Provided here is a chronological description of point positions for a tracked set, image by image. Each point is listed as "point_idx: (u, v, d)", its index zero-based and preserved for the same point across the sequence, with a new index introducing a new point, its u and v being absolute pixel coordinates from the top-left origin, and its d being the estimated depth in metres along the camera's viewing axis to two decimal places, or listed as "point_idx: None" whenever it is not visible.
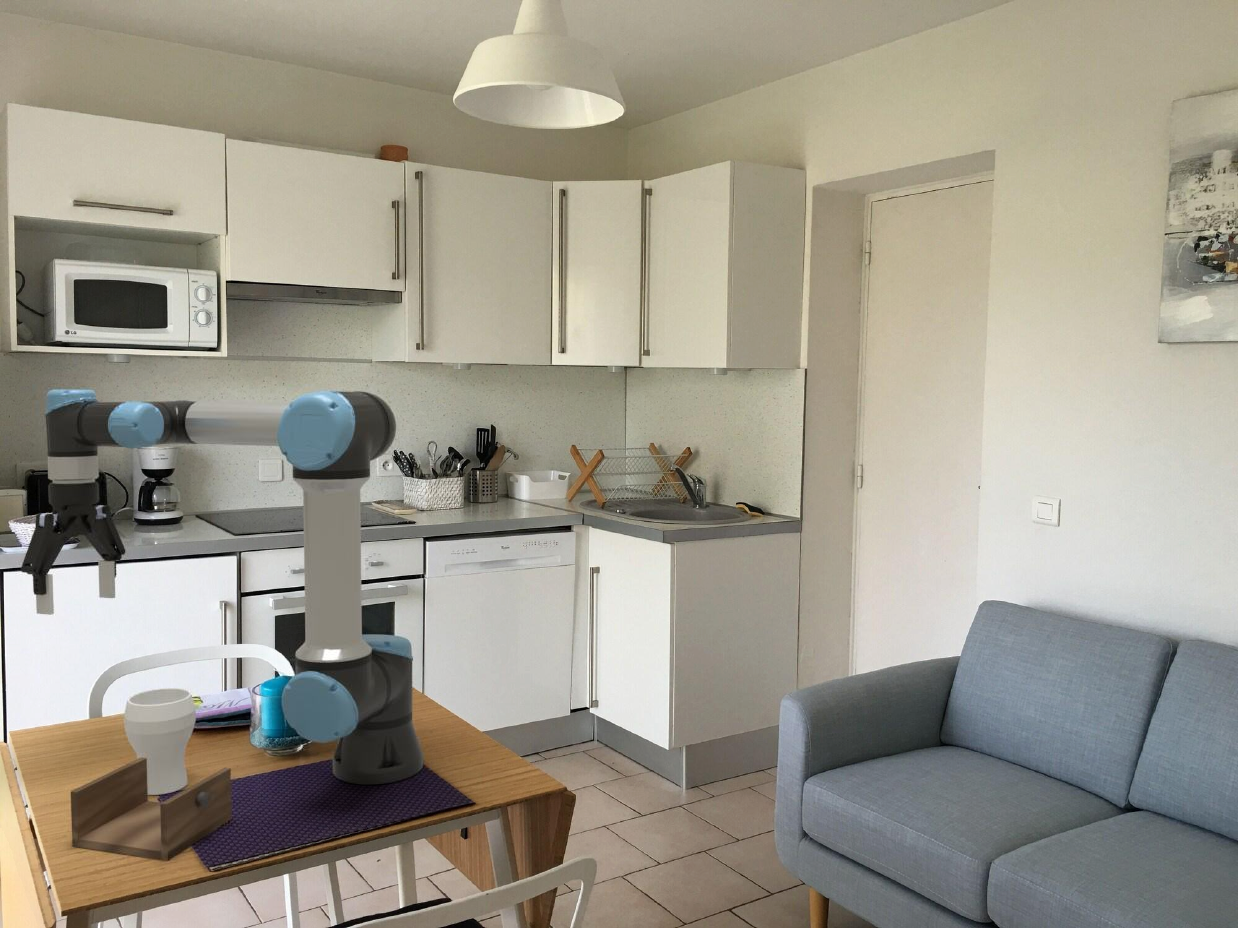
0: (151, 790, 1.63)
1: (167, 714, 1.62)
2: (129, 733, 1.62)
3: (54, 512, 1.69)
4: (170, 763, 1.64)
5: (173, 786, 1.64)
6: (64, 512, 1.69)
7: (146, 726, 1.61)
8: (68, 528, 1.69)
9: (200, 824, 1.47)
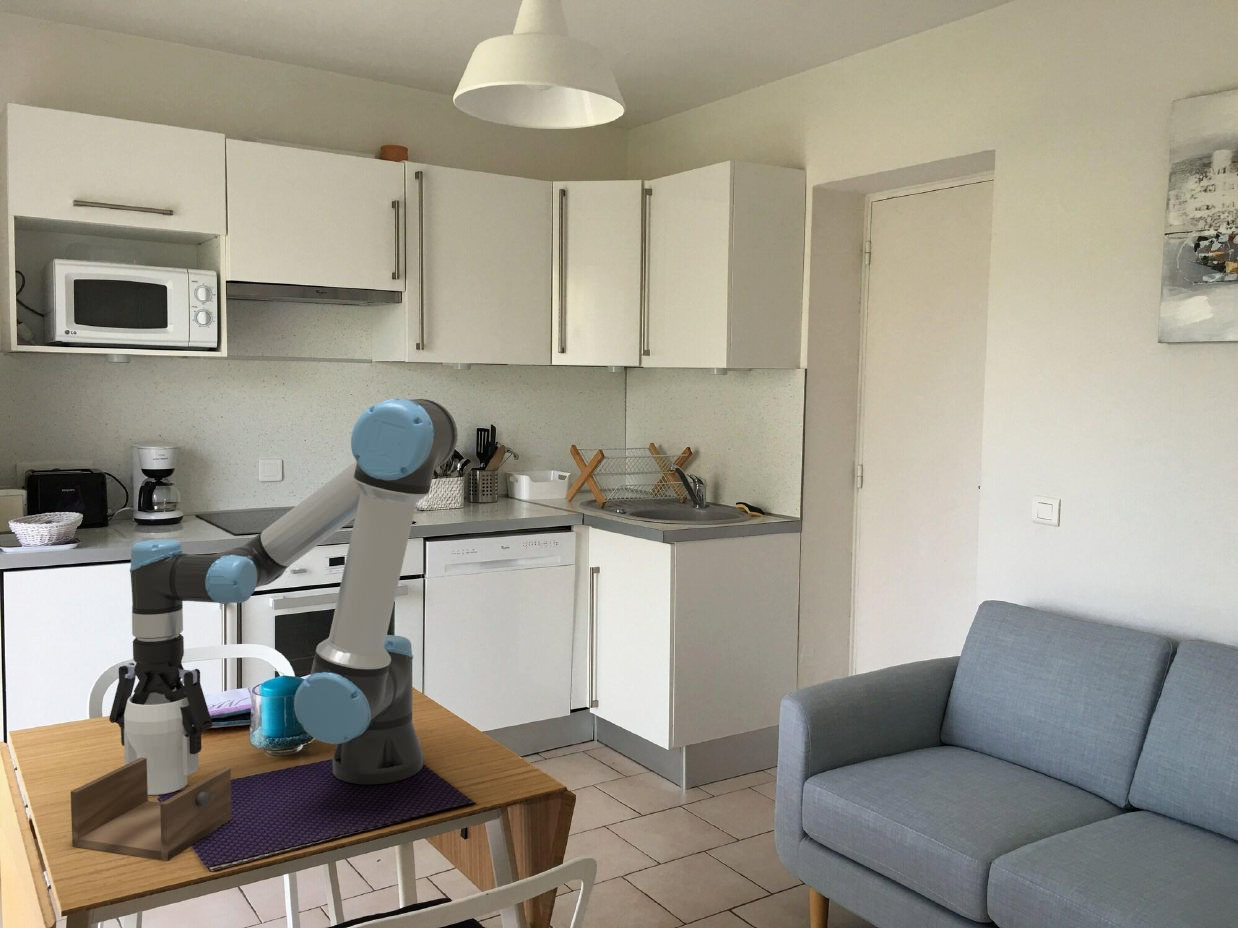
0: (151, 790, 1.63)
1: (167, 714, 1.62)
2: (129, 733, 1.62)
3: None
4: (170, 763, 1.64)
5: (173, 786, 1.64)
6: (136, 665, 1.65)
7: (146, 726, 1.61)
8: (138, 684, 1.65)
9: (200, 824, 1.47)
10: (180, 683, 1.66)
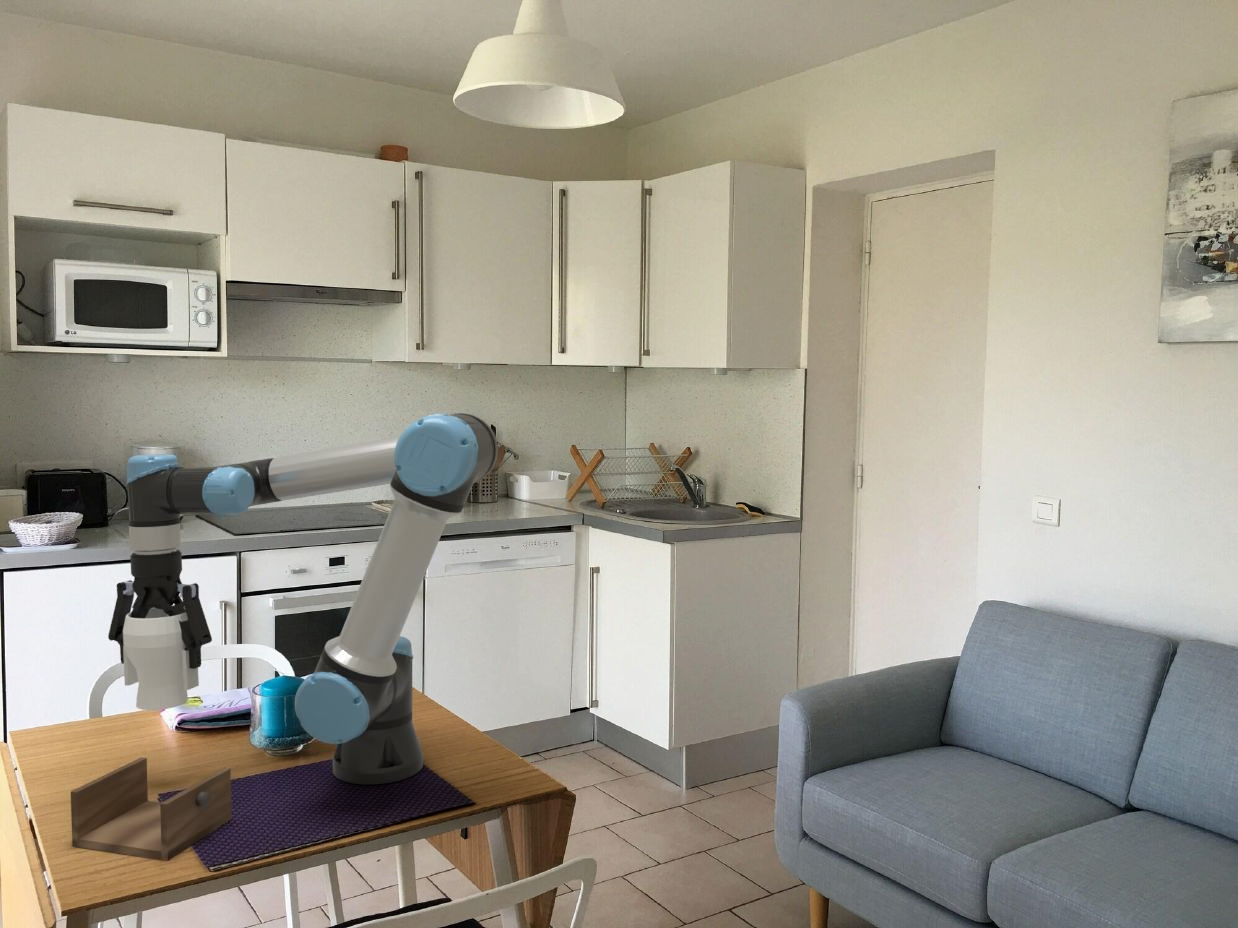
0: (151, 705, 1.62)
1: (166, 628, 1.61)
2: (128, 648, 1.61)
3: None
4: (170, 678, 1.63)
5: (173, 702, 1.63)
6: (134, 581, 1.64)
7: (145, 639, 1.60)
8: (136, 599, 1.64)
9: (200, 824, 1.47)
10: (179, 599, 1.65)
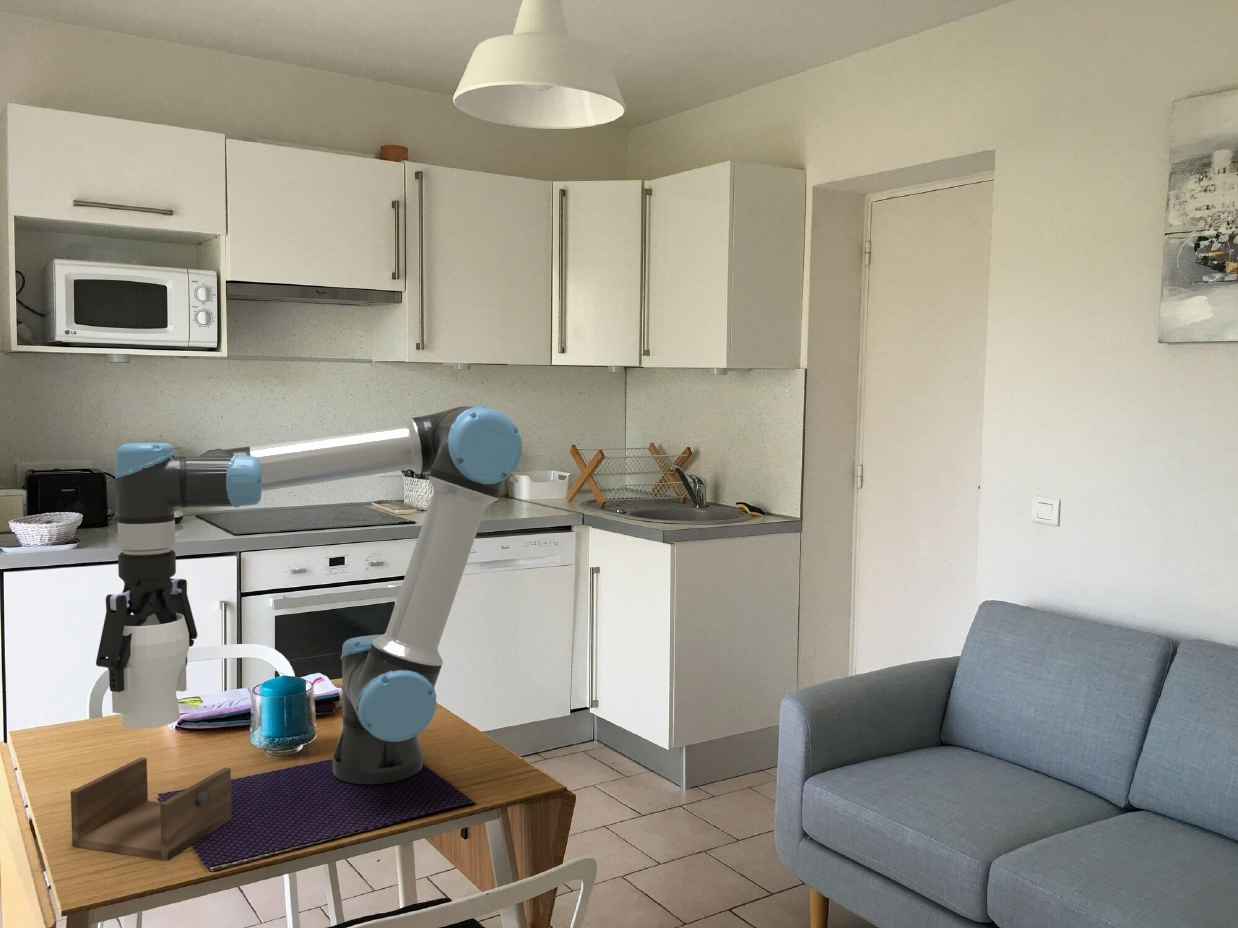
0: (177, 715, 1.48)
1: None
2: (169, 656, 1.45)
3: (125, 589, 1.43)
4: None
5: None
6: (137, 589, 1.43)
7: (186, 641, 1.48)
8: (143, 608, 1.44)
9: (200, 824, 1.47)
10: None
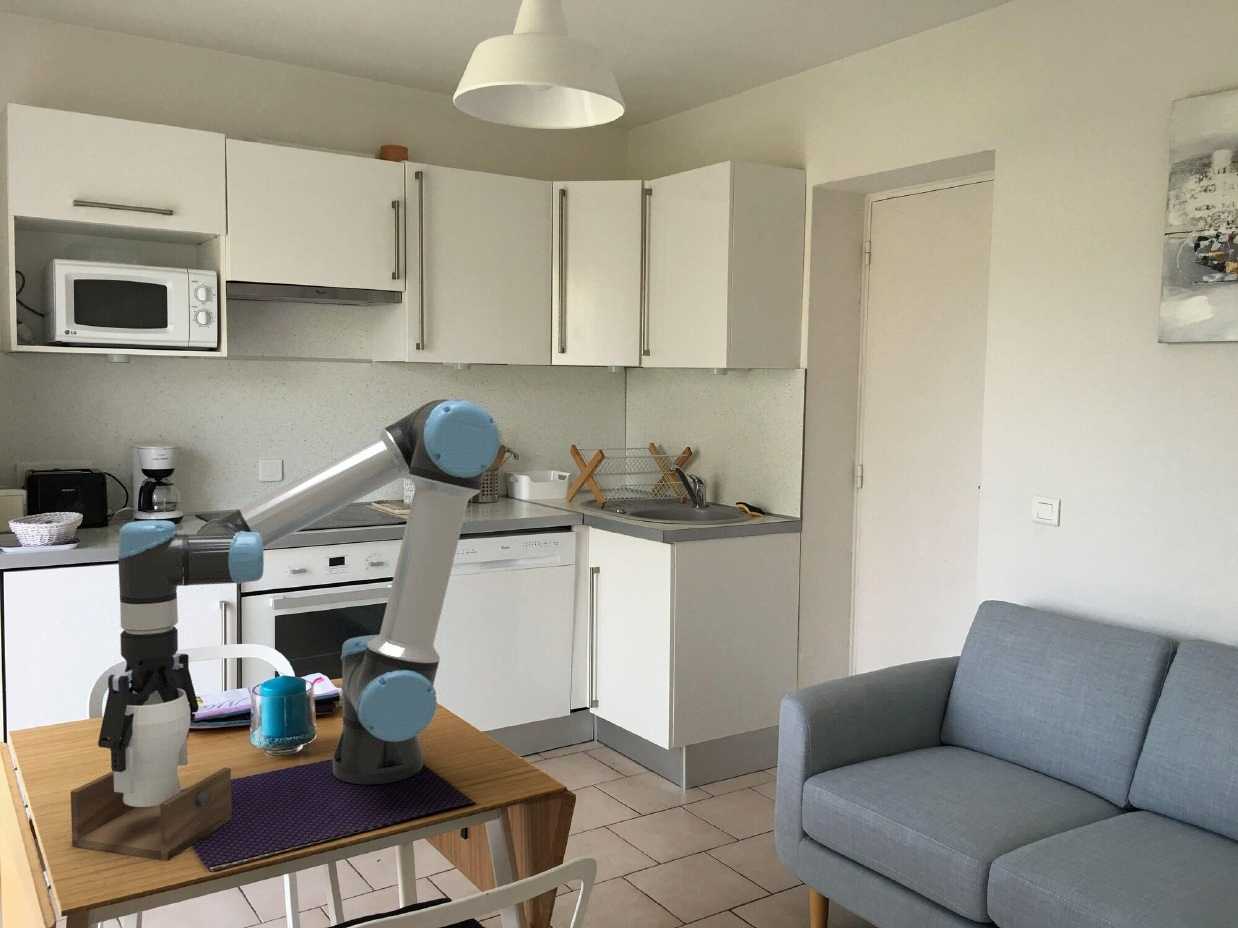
0: (178, 791, 1.49)
1: None
2: (171, 735, 1.45)
3: (127, 669, 1.44)
4: None
5: None
6: (139, 668, 1.44)
7: (187, 718, 1.48)
8: (145, 687, 1.45)
9: (200, 824, 1.47)
10: None
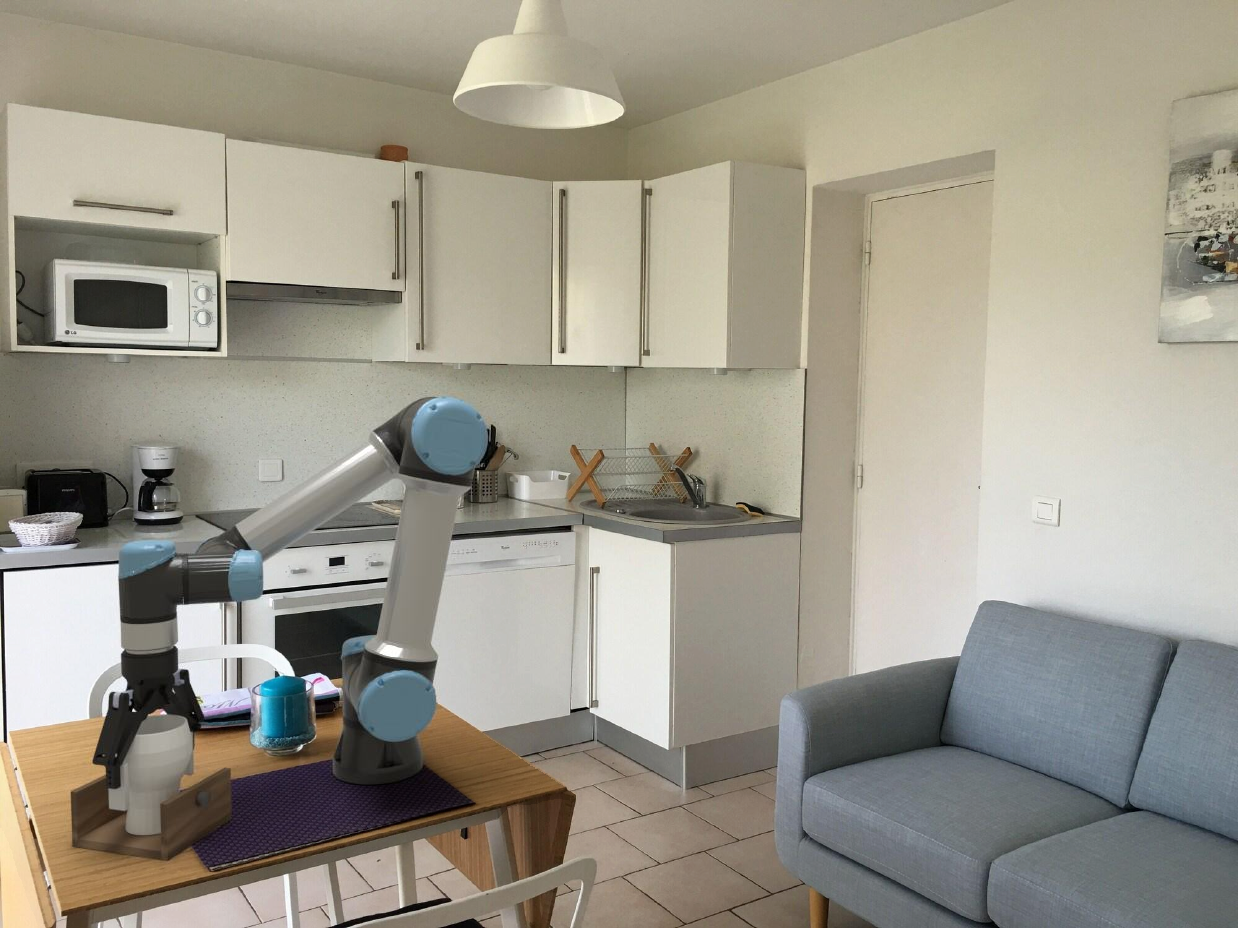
0: None
1: None
2: (172, 763, 1.46)
3: (128, 687, 1.44)
4: None
5: None
6: (140, 687, 1.44)
7: (189, 745, 1.49)
8: (145, 706, 1.45)
9: (200, 824, 1.47)
10: None
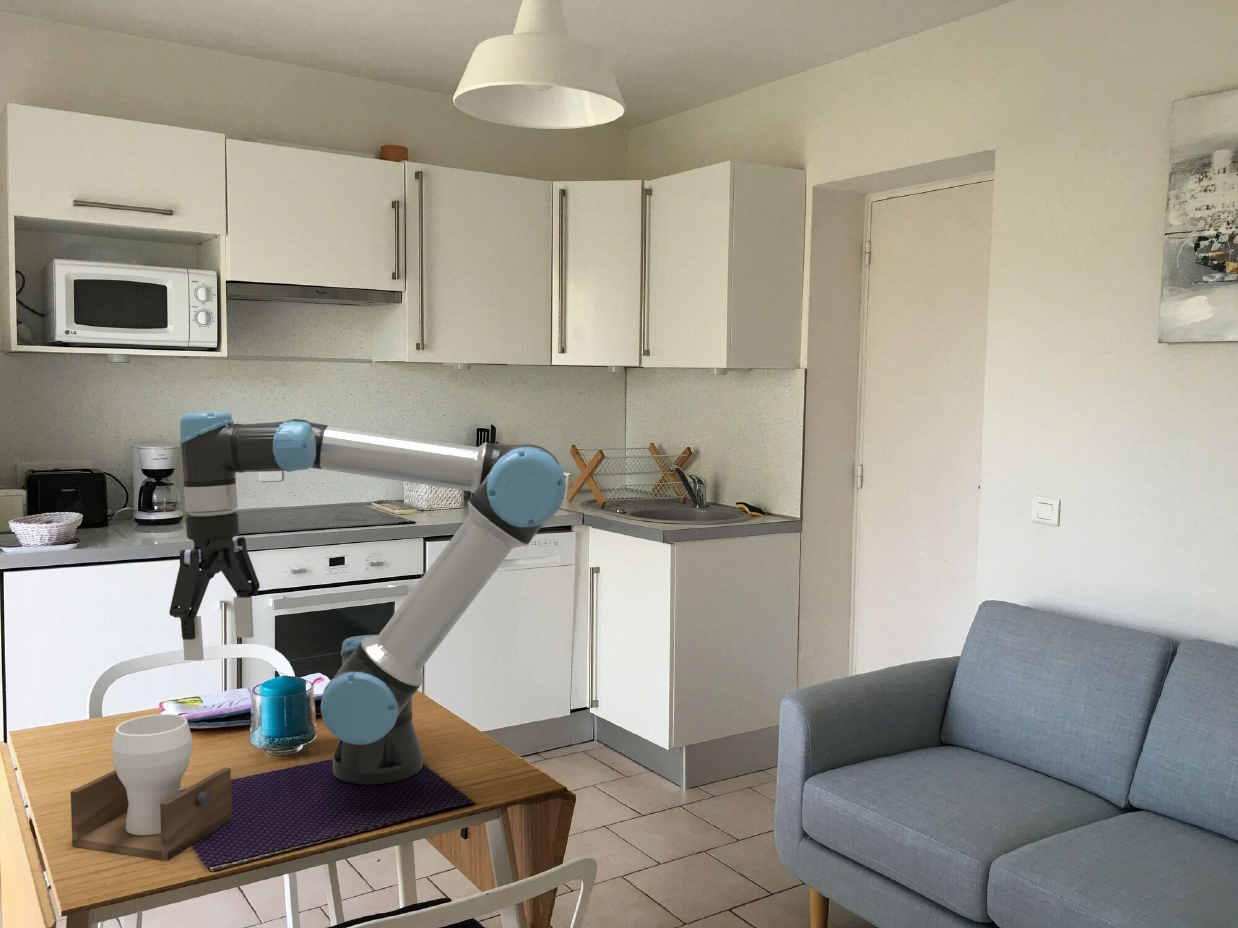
0: None
1: None
2: (173, 763, 1.46)
3: (196, 547, 1.54)
4: None
5: None
6: (207, 547, 1.54)
7: (189, 745, 1.49)
8: (212, 564, 1.54)
9: (200, 824, 1.47)
10: None
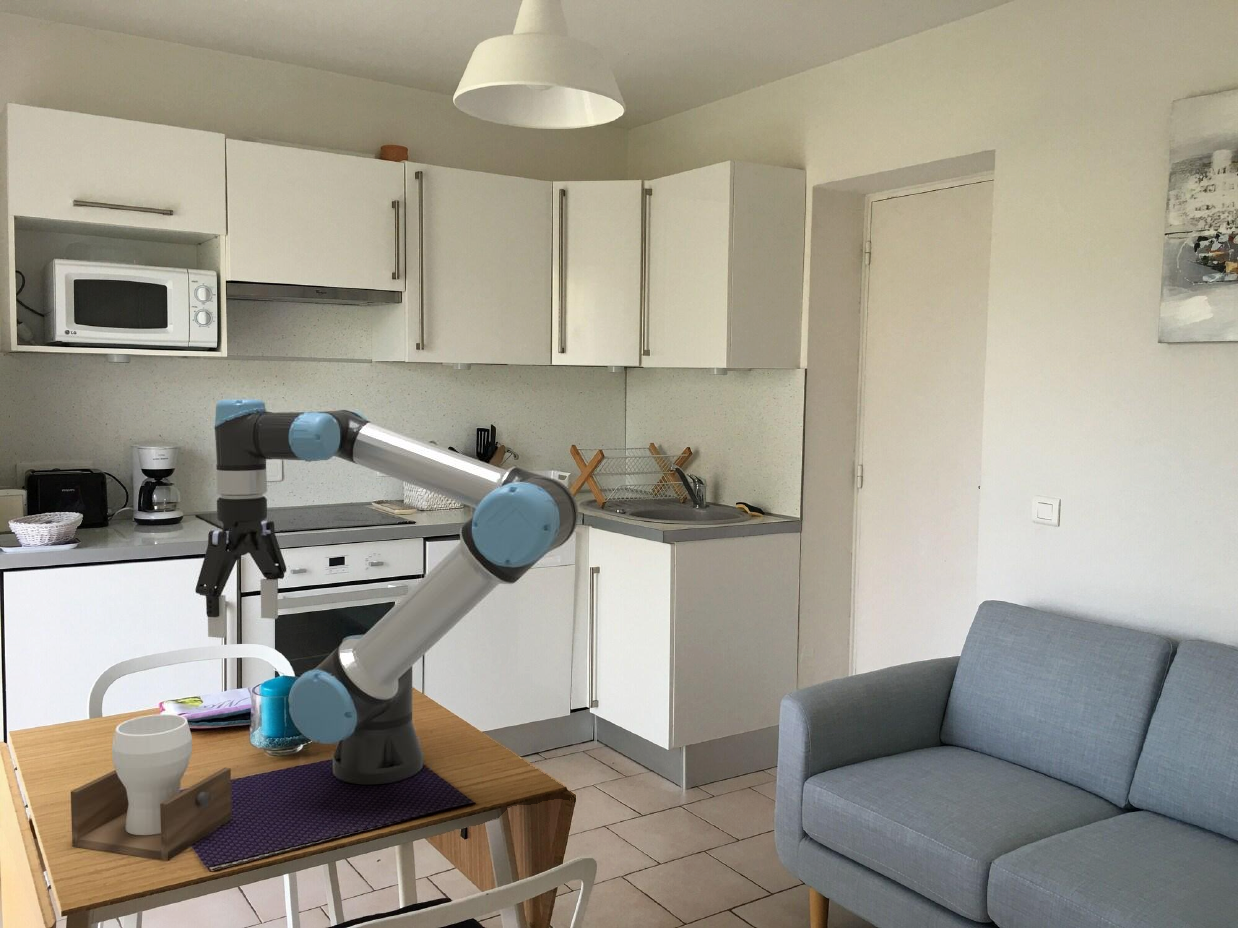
0: None
1: None
2: (173, 763, 1.46)
3: (225, 529, 1.59)
4: None
5: None
6: (235, 529, 1.59)
7: (189, 745, 1.49)
8: (239, 546, 1.60)
9: (200, 824, 1.47)
10: None
